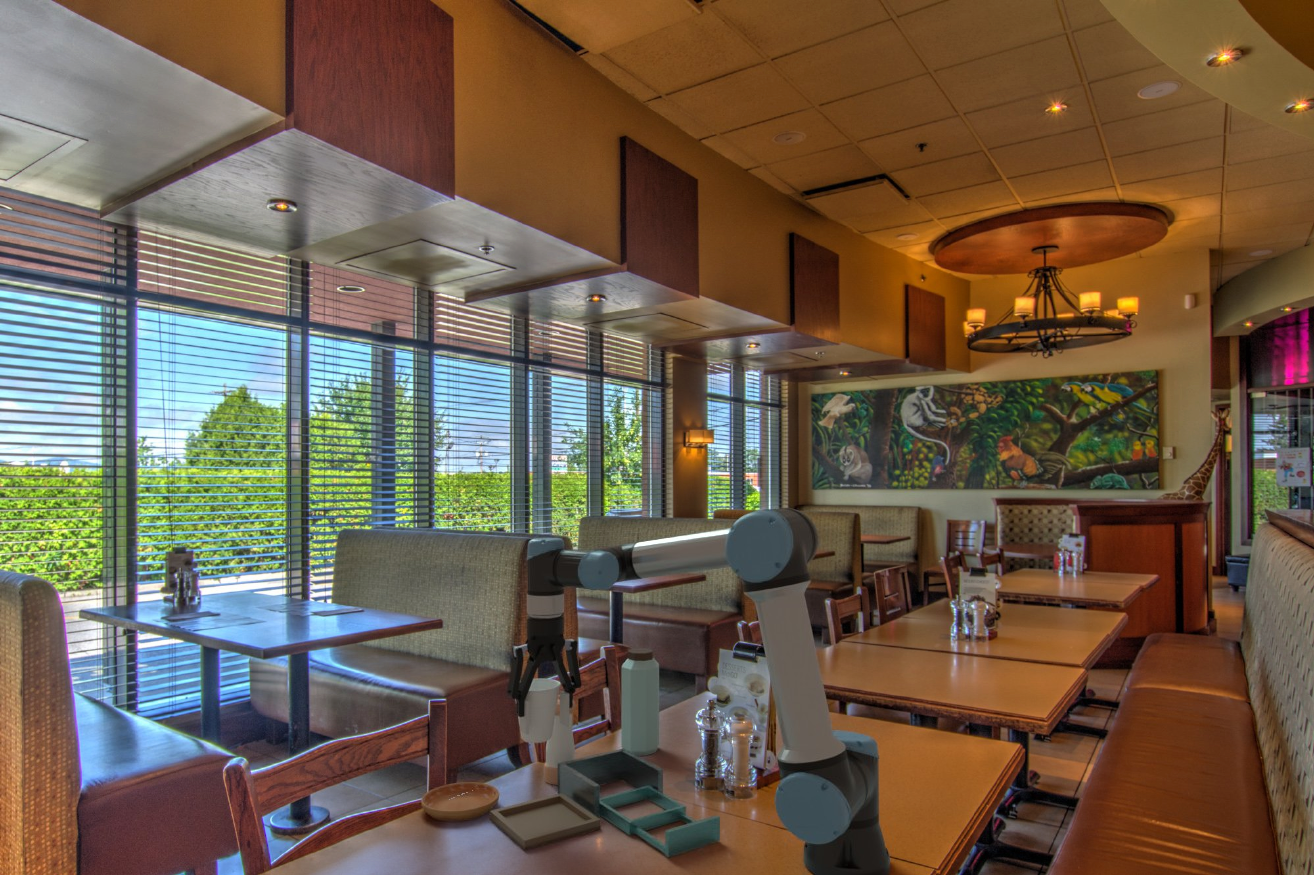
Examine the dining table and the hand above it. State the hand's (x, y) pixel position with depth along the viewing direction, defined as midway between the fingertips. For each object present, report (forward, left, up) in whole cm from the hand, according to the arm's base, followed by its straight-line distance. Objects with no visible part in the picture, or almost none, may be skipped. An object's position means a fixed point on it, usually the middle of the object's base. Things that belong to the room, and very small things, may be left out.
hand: (544, 728), depth 164 cm
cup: (+3, 0, -3) cm, 4 cm away
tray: (0, 0, -19) cm, 19 cm away
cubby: (+4, -18, -19) cm, 26 cm away
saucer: (+17, +11, -19) cm, 28 cm away
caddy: (-13, -18, -19) cm, 29 cm away
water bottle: (+26, -40, -19) cm, 51 cm away
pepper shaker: (+20, -14, -19) cm, 31 cm away
